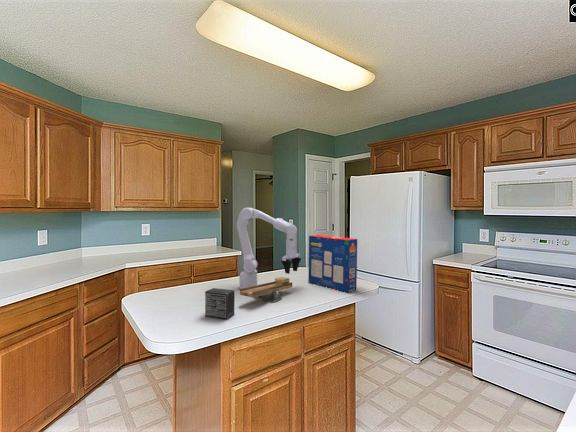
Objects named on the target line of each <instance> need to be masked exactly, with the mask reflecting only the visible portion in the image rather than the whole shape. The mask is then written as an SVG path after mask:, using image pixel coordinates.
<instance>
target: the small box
mask: <svg viewBox="0 0 576 432" xmlns="http://www.w3.org/2000/svg"><path fill="white" fill-rule="evenodd" d="M204 293H205V294H204V295H205V298H204V299H205V303H204V304H205V308H204V309H205V311H204V312H205V314H204V317H206V318H214V319H221V320H225V321H227V320H229V319H230V318H232V317H234V316H235V297H236V296H235V290H234V289H225V288H215V287H213V288H211V289H207V290H205V292H204Z"/></svg>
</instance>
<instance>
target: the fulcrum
mask: <svg viewBox="0 0 576 432" xmlns="http://www.w3.org/2000/svg"><path fill="white" fill-rule="evenodd" d="M253 299H255V300H258V301H262V302H268V303H270V304H274V303H277V302H279V301H281V300H282V299H283V297H282V296H280V291H279V290H274V291H273V293H269V294H265V295H262V296H258V297H254V298H253Z"/></svg>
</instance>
